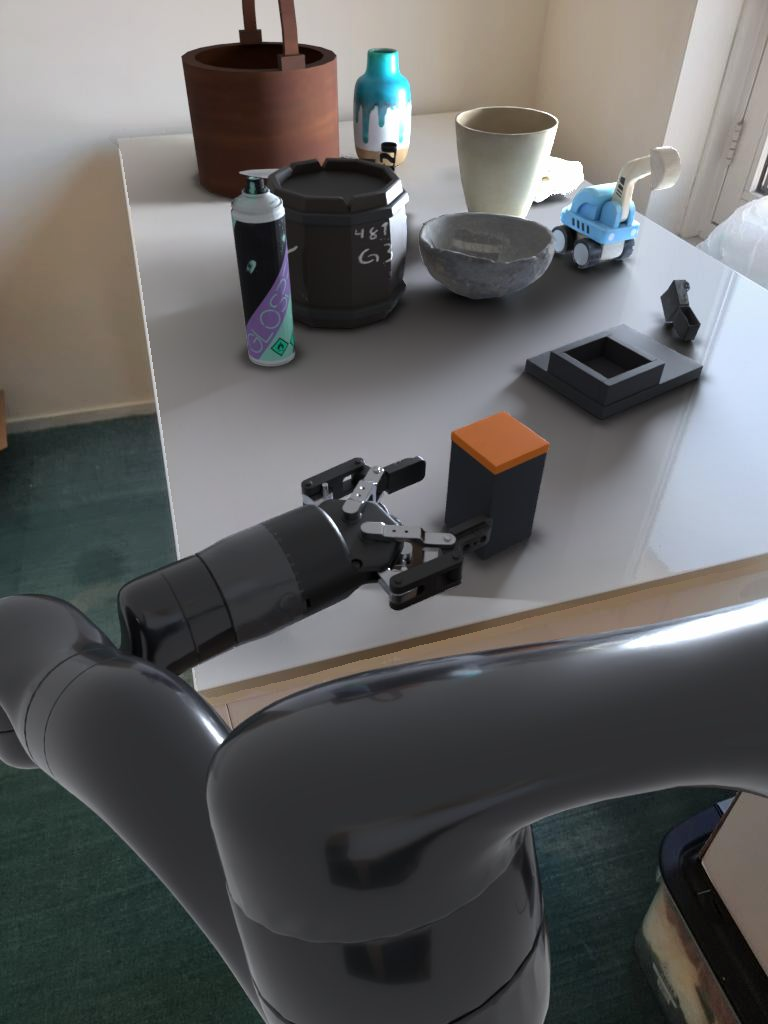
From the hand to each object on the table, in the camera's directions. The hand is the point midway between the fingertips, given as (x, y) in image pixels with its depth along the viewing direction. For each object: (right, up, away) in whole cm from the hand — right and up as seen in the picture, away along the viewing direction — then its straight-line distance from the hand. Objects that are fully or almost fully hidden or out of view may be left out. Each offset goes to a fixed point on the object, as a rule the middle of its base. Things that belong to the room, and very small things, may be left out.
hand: (454, 494), depth 59 cm
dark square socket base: (+21, +15, +26) cm, 36 cm away
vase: (-6, +64, +82) cm, 104 cm away
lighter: (+32, +22, +35) cm, 52 cm away
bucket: (-27, +60, +77) cm, 101 cm away
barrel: (-12, +27, +39) cm, 49 cm away
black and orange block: (+3, -3, +6) cm, 7 cm away
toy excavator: (+26, +35, +49) cm, 66 cm away
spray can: (-19, +17, +28) cm, 38 cm away
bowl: (+8, +29, +42) cm, 52 cm away
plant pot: (+12, +44, +59) cm, 74 cm away
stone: (+23, +58, +75) cm, 98 cm away
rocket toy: (-15, +42, +56) cm, 72 cm away
